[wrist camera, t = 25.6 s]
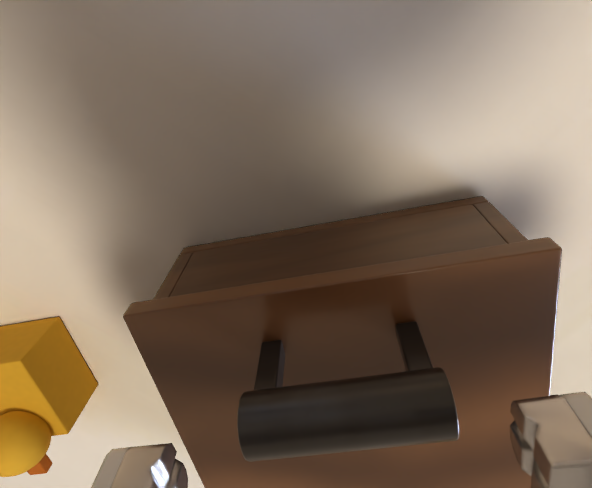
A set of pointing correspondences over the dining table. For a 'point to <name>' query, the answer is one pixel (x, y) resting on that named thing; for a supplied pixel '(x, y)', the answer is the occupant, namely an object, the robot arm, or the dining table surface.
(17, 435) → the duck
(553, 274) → the lid
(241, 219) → the dining table surface
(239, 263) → the chest
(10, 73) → the dining table surface
